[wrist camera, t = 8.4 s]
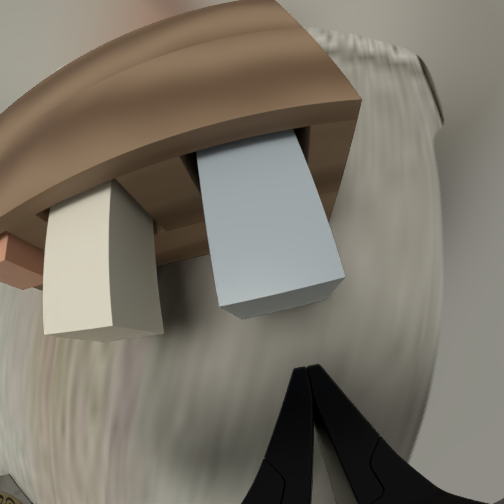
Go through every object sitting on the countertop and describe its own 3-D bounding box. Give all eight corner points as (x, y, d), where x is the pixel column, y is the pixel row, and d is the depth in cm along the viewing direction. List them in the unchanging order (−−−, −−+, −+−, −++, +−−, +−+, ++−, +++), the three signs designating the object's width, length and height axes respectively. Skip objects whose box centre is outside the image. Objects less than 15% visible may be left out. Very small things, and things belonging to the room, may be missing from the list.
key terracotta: (54, 280, 13) (4, 259, 9) (22, 289, 13) (-22, 273, 9) (62, 193, 15) (25, 162, 11) (31, 209, 15) (-4, 184, 11)
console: (327, 226, 17) (361, 99, 7) (49, 292, 18) (-49, 253, 8) (279, 102, 21) (270, -4, 11) (62, 175, 22) (-1, 115, 12)
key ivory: (164, 333, 11) (112, 325, 8) (102, 341, 12) (44, 334, 8) (152, 212, 13) (112, 169, 10) (97, 230, 14) (52, 196, 10)
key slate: (325, 299, 11) (345, 276, 7) (241, 319, 11) (219, 306, 7) (289, 177, 13) (288, 119, 9) (218, 194, 13) (195, 140, 9)
